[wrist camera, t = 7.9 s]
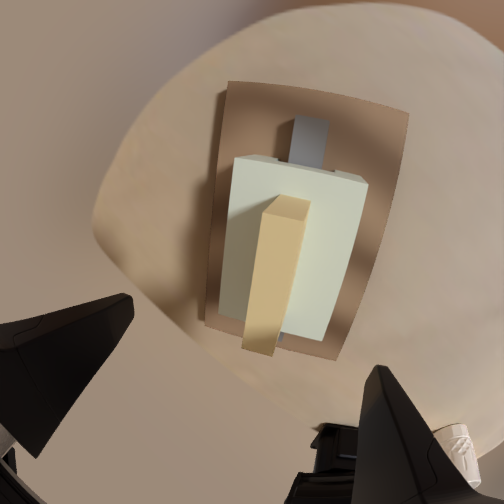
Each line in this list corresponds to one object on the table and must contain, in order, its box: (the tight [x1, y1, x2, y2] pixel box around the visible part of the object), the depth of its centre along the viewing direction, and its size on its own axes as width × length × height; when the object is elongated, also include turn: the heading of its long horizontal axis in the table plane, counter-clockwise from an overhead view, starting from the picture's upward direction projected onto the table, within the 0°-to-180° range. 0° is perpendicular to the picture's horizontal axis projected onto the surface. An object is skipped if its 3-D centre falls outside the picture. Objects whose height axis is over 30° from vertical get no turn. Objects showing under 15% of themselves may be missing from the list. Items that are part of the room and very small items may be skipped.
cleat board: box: [205, 81, 409, 361], centre depth 19 cm, size 20×12×3 cm, turn 172°
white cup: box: [433, 424, 481, 489], centre depth 20 cm, size 8×8×10 cm
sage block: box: [218, 154, 369, 357], centre depth 15 cm, size 10×7×8 cm
